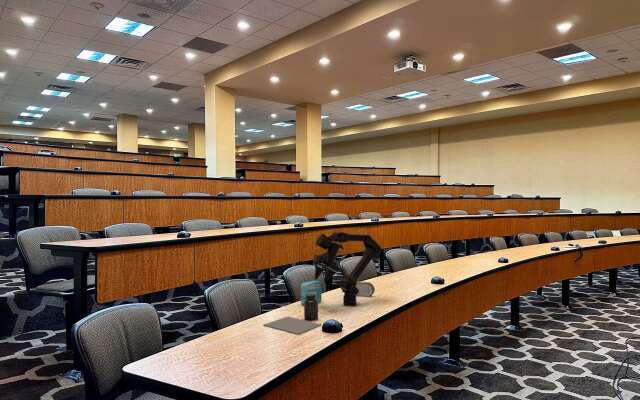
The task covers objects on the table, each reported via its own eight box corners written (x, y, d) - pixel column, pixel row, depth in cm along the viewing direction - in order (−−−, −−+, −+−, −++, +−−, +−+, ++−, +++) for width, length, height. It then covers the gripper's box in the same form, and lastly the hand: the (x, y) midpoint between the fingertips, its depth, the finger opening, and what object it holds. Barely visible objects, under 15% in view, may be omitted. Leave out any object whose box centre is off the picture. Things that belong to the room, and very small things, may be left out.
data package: (306, 306, 225) (306, 284, 225) (300, 305, 228) (300, 283, 228) (321, 302, 234) (321, 280, 234) (316, 301, 237) (315, 280, 237)
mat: (287, 317, 205) (287, 316, 205) (322, 325, 191) (322, 324, 191) (263, 325, 193) (263, 324, 193) (298, 334, 179) (298, 333, 179)
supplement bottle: (303, 317, 205) (303, 293, 205) (317, 316, 205) (317, 292, 205) (304, 321, 198) (304, 296, 198) (318, 320, 199) (318, 295, 199)
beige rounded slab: (374, 296, 246) (374, 282, 246) (373, 297, 243) (373, 283, 243) (350, 294, 251) (349, 280, 251) (348, 296, 248) (348, 281, 248)
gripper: (311, 245, 226) (299, 272, 222) (329, 248, 210) (317, 277, 206) (326, 254, 231) (315, 280, 227) (345, 257, 215) (333, 286, 211)
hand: (319, 280), depth 218 cm, fingers open, 9 cm apart
